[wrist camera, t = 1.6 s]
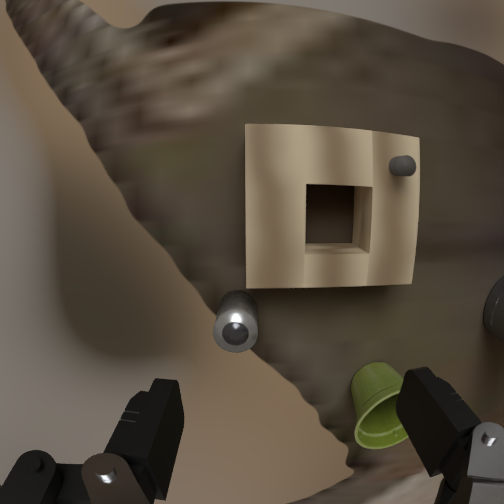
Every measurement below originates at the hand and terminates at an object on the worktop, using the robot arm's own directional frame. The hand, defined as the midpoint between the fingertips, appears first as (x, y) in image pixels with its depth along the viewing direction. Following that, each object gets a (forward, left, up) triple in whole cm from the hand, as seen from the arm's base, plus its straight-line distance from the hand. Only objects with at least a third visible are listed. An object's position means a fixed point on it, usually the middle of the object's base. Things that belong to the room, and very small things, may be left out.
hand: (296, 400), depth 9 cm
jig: (-6, -5, -22) cm, 23 cm away
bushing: (+3, +6, -22) cm, 23 cm away
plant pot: (-14, +17, -22) cm, 31 cm away
